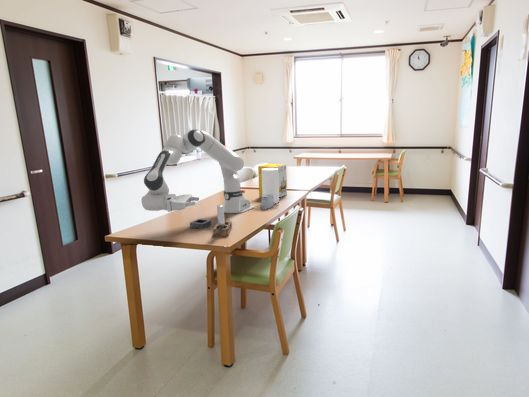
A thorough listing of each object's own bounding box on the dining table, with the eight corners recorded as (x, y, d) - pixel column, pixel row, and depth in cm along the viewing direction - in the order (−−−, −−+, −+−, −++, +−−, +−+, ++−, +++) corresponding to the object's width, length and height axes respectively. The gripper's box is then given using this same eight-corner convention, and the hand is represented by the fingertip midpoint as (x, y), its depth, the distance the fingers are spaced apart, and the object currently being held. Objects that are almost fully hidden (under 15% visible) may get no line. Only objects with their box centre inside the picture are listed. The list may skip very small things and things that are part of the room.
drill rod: (220, 232, 210) (218, 204, 207) (226, 233, 209) (224, 205, 206) (217, 234, 207) (215, 206, 204) (223, 235, 206) (222, 206, 203)
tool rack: (213, 236, 204) (213, 229, 204) (218, 228, 219) (217, 221, 218) (228, 236, 204) (227, 228, 203) (231, 228, 219) (231, 221, 218)
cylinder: (269, 199, 291) (268, 167, 286) (282, 201, 284) (281, 168, 278) (259, 202, 282) (258, 169, 277) (272, 204, 274) (271, 170, 269)
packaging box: (276, 199, 293) (276, 167, 288) (259, 197, 301) (258, 166, 296) (286, 195, 306) (286, 164, 301) (269, 193, 315) (268, 163, 310)
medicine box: (268, 206, 270) (268, 194, 268) (273, 206, 267) (273, 195, 266) (261, 208, 264) (261, 196, 262) (266, 209, 262) (266, 197, 260)
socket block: (199, 223, 231) (198, 218, 230) (211, 224, 227) (211, 219, 226) (190, 227, 223) (189, 222, 222) (203, 228, 219) (202, 223, 218)
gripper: (177, 202, 216) (201, 201, 215) (167, 212, 196) (193, 211, 196) (176, 192, 215) (200, 191, 214) (165, 201, 195) (192, 199, 194)
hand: (197, 201), depth 205 cm, fingers open, 8 cm apart
